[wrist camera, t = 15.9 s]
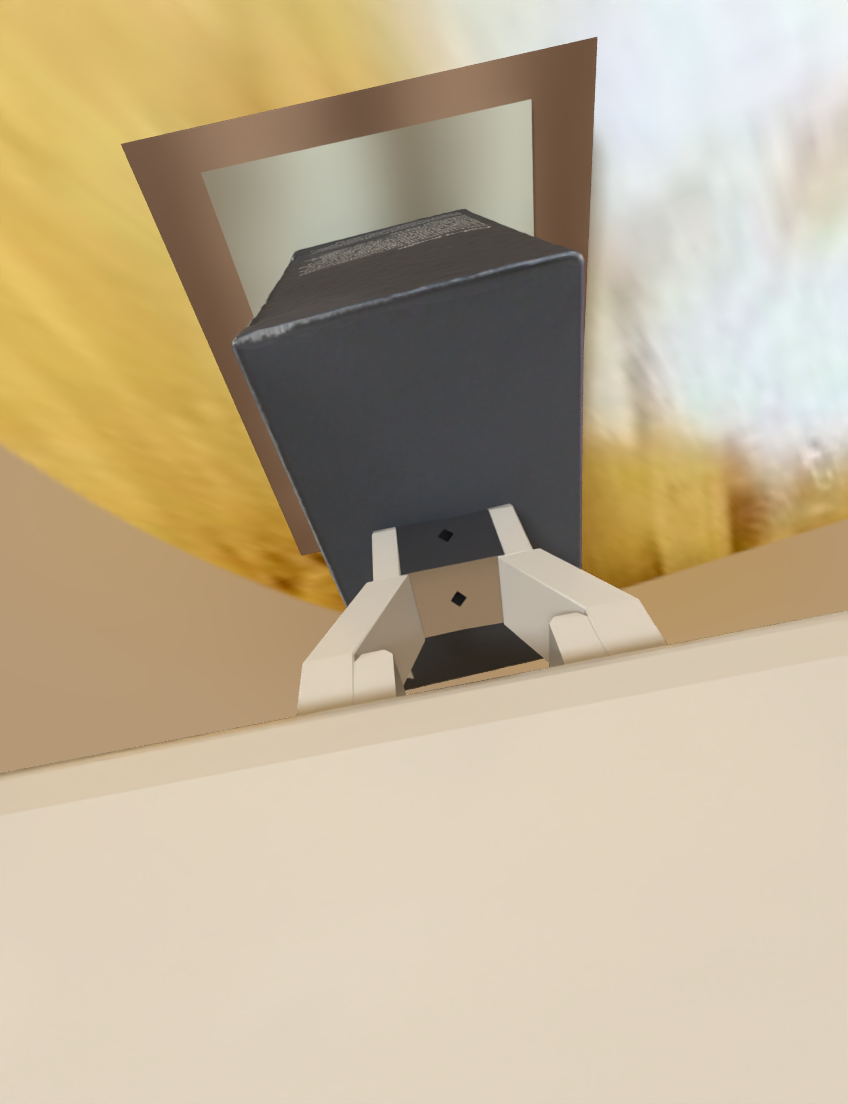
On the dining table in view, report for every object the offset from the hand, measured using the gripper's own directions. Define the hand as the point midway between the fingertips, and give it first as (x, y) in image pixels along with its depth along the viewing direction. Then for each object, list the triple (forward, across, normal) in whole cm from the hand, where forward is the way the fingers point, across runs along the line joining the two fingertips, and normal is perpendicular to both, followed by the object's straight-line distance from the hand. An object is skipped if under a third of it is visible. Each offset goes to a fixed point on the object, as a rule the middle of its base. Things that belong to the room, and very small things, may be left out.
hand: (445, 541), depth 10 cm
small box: (+11, 0, 0) cm, 11 cm away
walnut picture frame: (+14, 0, 0) cm, 14 cm away
